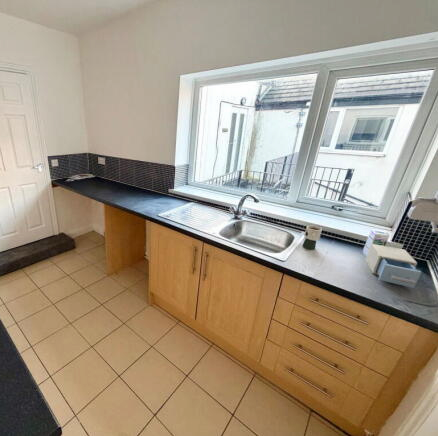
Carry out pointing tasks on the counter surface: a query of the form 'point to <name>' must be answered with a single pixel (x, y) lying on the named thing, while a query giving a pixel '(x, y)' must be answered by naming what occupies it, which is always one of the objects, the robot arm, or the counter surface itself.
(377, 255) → the compartment unit
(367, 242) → the syrup box
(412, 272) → the drawer
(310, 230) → the character mug
